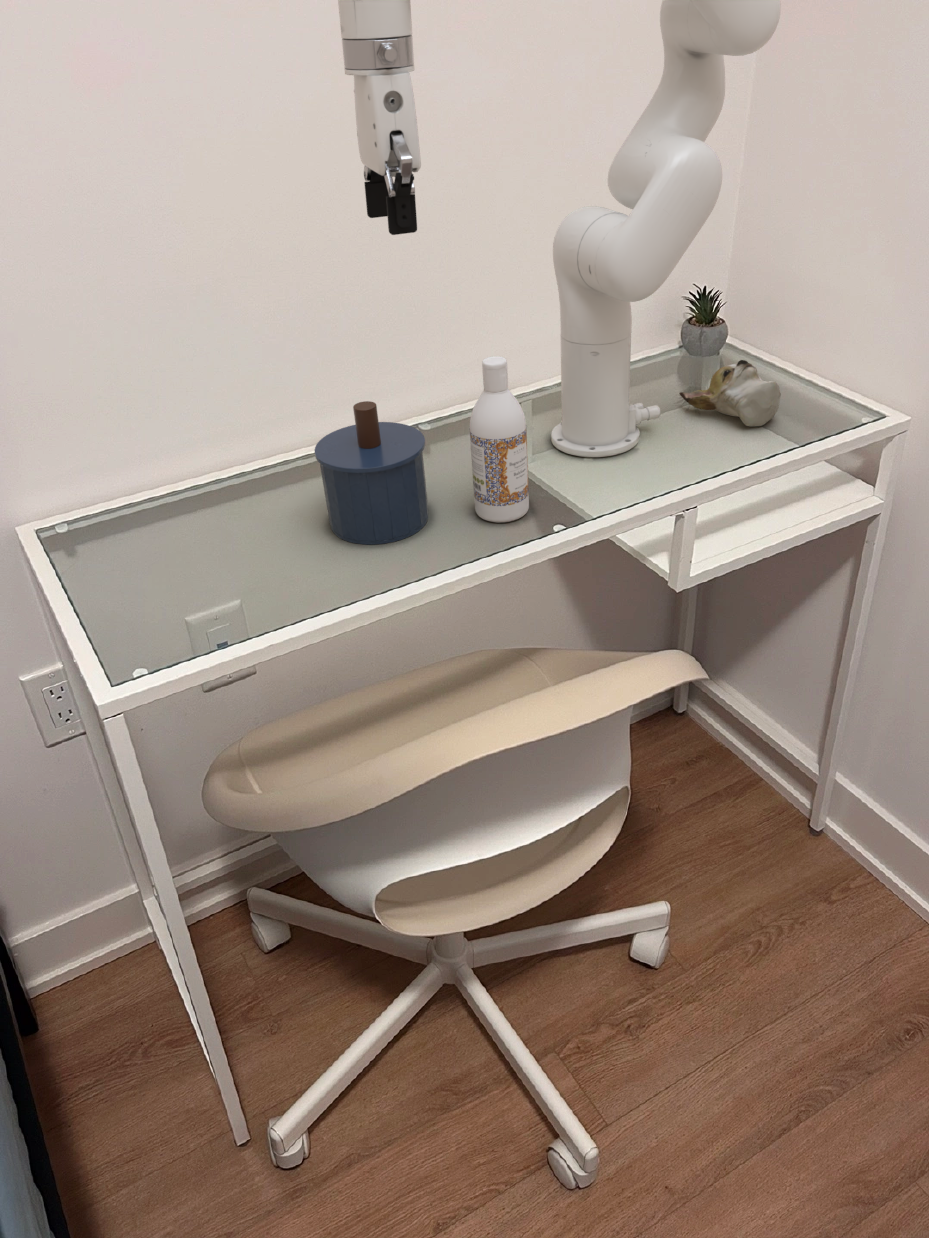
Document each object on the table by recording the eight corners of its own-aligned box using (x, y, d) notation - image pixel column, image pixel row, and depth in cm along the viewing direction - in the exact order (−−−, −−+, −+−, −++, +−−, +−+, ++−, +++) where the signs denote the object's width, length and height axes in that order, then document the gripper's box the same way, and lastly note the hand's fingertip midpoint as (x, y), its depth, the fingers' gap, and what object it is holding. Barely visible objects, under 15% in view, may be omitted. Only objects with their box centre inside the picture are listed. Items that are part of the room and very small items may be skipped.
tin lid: (407, 422, 131) (402, 377, 128) (440, 463, 120) (436, 414, 117) (305, 443, 128) (297, 397, 124) (330, 487, 117) (322, 437, 113)
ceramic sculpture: (747, 379, 137) (676, 356, 148) (743, 440, 141) (675, 412, 153) (805, 362, 141) (732, 341, 152) (800, 422, 145) (730, 396, 157)
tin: (411, 489, 136) (403, 420, 130) (441, 531, 126) (435, 458, 120) (320, 509, 133) (309, 439, 127) (344, 554, 123) (332, 480, 117)
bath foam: (503, 529, 125) (494, 375, 114) (464, 513, 129) (452, 362, 118) (540, 509, 129) (536, 357, 118) (501, 493, 133) (493, 346, 122)
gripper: (436, 60, 102) (445, 236, 111) (391, 49, 115) (402, 207, 125) (364, 65, 100) (379, 244, 109) (327, 54, 114) (343, 214, 123)
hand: (391, 224), depth 117 cm, fingers open, 9 cm apart
